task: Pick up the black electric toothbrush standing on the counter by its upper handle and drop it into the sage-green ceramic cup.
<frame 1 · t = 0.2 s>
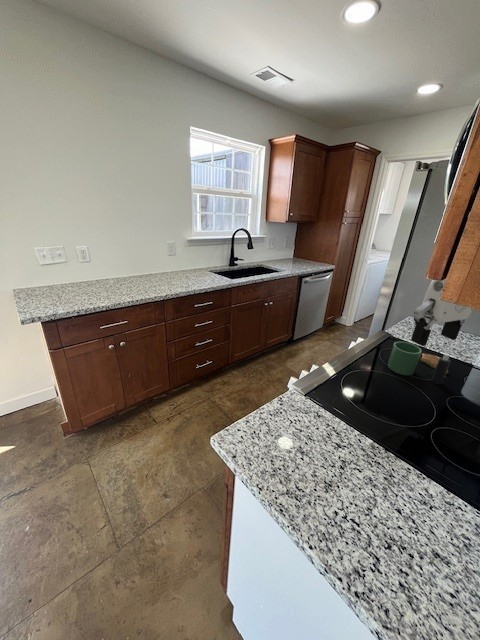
hand: (433, 340, 61), 27 cm above the worktop, tool pointing down, fingers open, 9 cm apart
green cup: (400, 368, 98), on the worktop
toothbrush: (436, 381, 91), on the worktop
shard: (436, 365, 101), on the worktop
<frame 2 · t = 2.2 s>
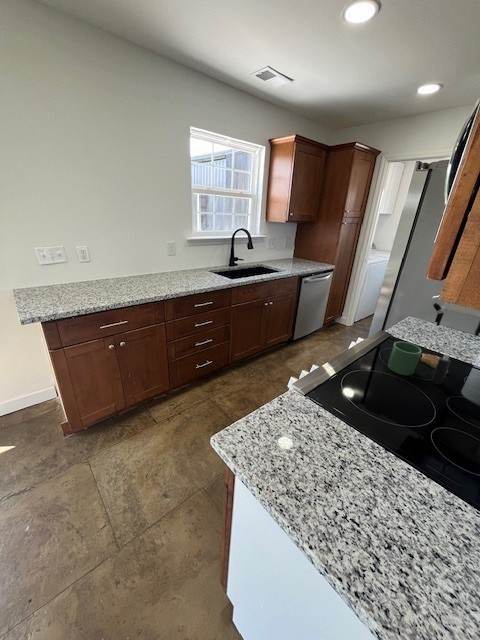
hand: (456, 329, 82), 20 cm above the worktop, tool pointing down, fingers open, 9 cm apart
nothing on the worktop moved.
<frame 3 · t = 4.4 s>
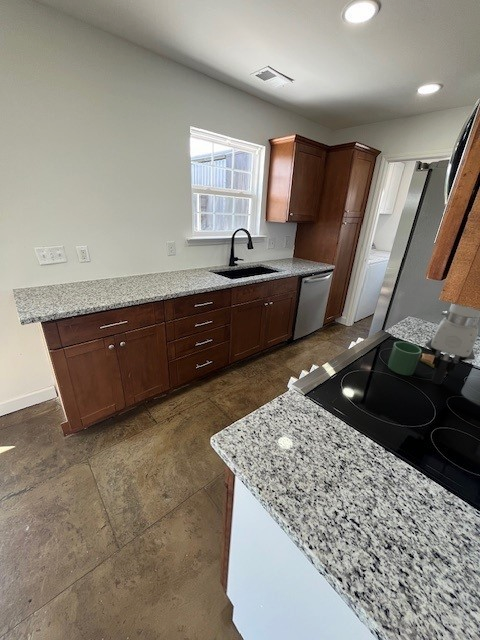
hand: (441, 368, 89), 6 cm above the worktop, tool pointing down, fingers closed on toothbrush, 3 cm apart
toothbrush: (436, 381, 91), on the worktop, touching gripper
everything else where it was.
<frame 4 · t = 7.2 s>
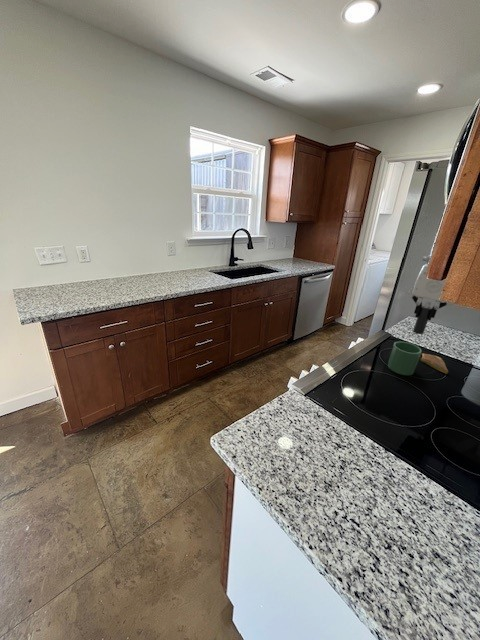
hand: (423, 317, 88), 21 cm above the worktop, tool pointing down, fingers closed on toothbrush, 3 cm apart
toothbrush: (418, 332, 91), point 16 cm above the worktop, touching gripper
everything else where it was.
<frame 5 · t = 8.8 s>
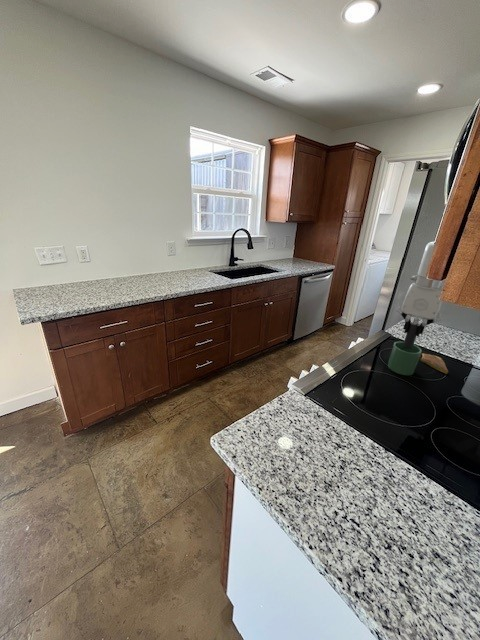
hand: (412, 332, 92), 15 cm above the worktop, tool pointing down, fingers closed on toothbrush, 3 cm apart
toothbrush: (407, 346, 94), point 9 cm above the worktop, touching gripper
everything else where it was.
when the fingers open (12 cm above the worktop, at t = 10.0 s): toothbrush drops 5 cm, resting on green cup.
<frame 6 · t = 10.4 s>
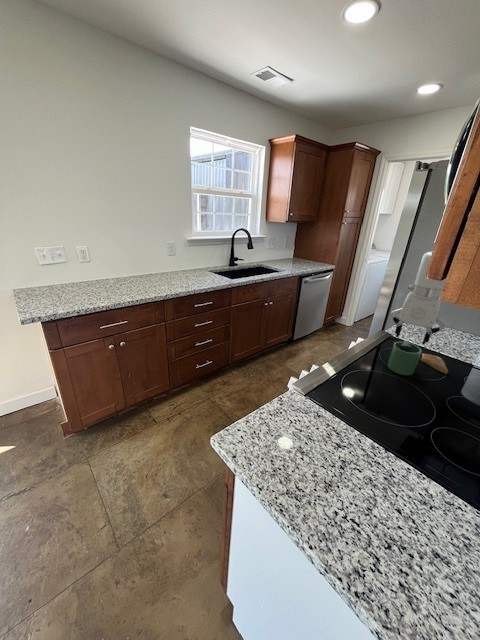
hand: (410, 339, 93), 12 cm above the worktop, tool pointing down, fingers open, 7 cm apart
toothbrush: (401, 366, 98), point 1 cm above the worktop, touching green cup
everything else where it was.
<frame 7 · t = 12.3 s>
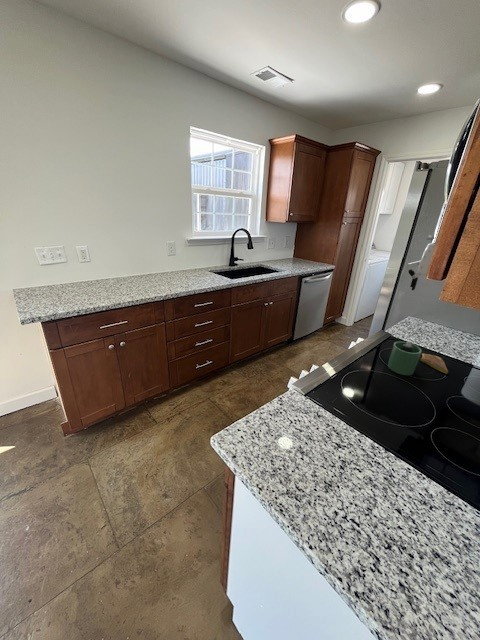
hand: (429, 292, 91), 28 cm above the worktop, tool pointing down, fingers open, 9 cm apart
nothing on the worktop moved.
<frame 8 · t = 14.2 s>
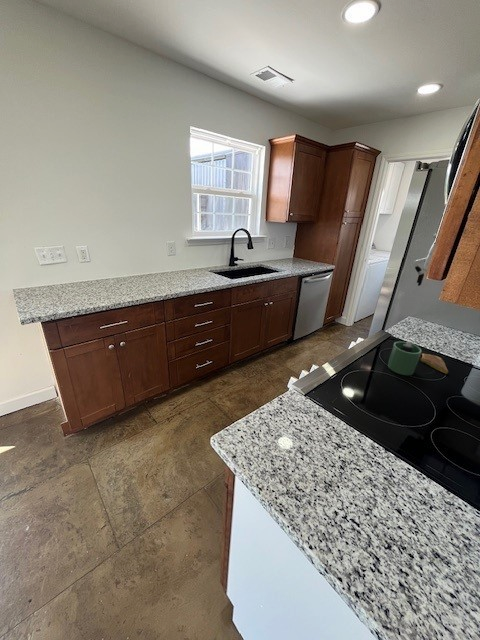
hand: (434, 287, 96), 28 cm above the worktop, tool pointing down, fingers open, 9 cm apart
nothing on the worktop moved.
at the end: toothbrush 0.1 cm off-centre in the green cup, point 0.6 cm above the green cup's base; the gripper is holding nothing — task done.
